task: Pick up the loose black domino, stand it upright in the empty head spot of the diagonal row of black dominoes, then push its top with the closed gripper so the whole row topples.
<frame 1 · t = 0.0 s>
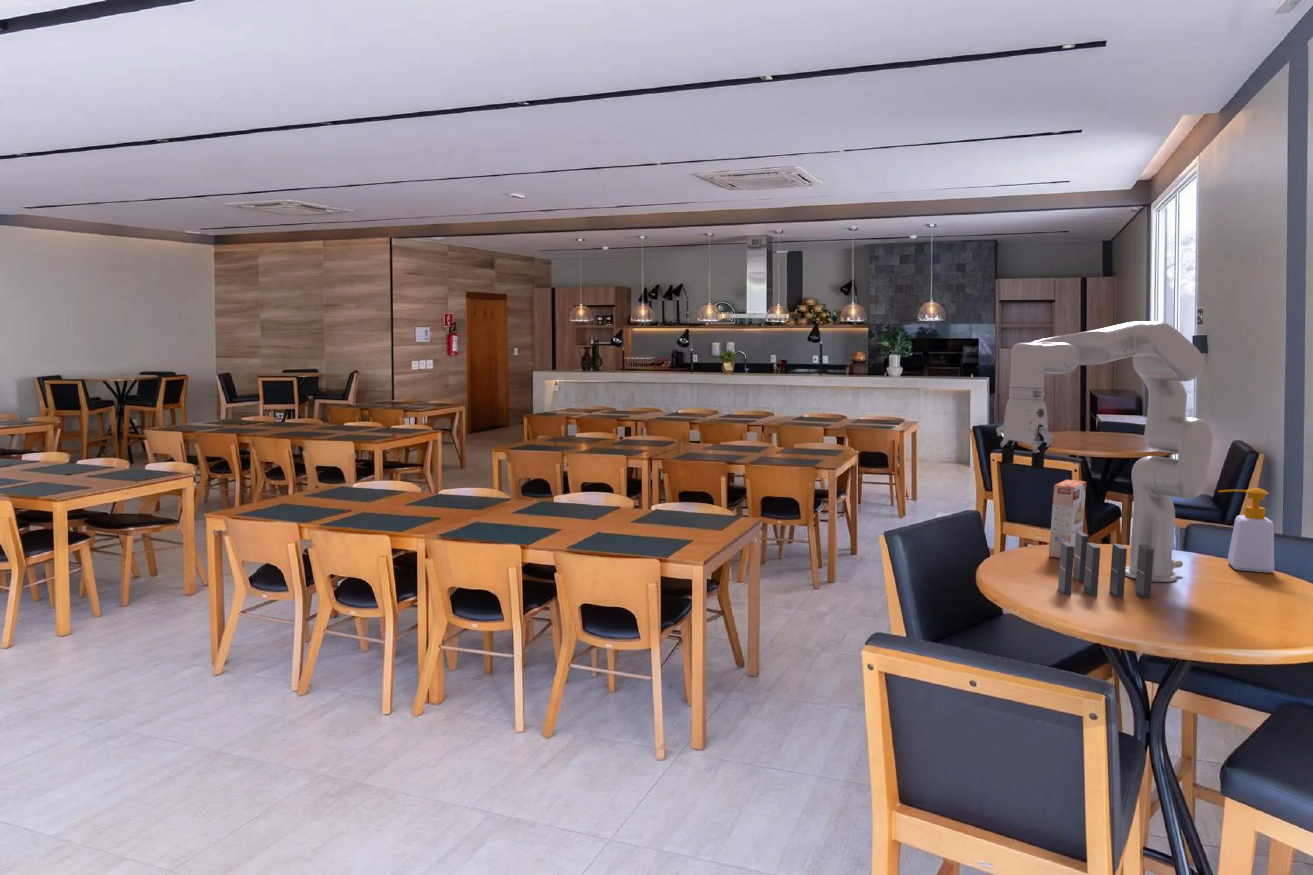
hand: (1022, 466, 220), 31 cm above the table, fingers open, 9 cm apart
domino 3: (1090, 593, 224), on the table
cracker box: (1065, 555, 263), on the table
domino 5: (1142, 595, 222), on the table
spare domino: (1079, 579, 236), on the table
domino 4: (1116, 594, 223), on the table
domino 2: (1064, 591, 224), on the table
soap bottle: (1240, 568, 250), on the table
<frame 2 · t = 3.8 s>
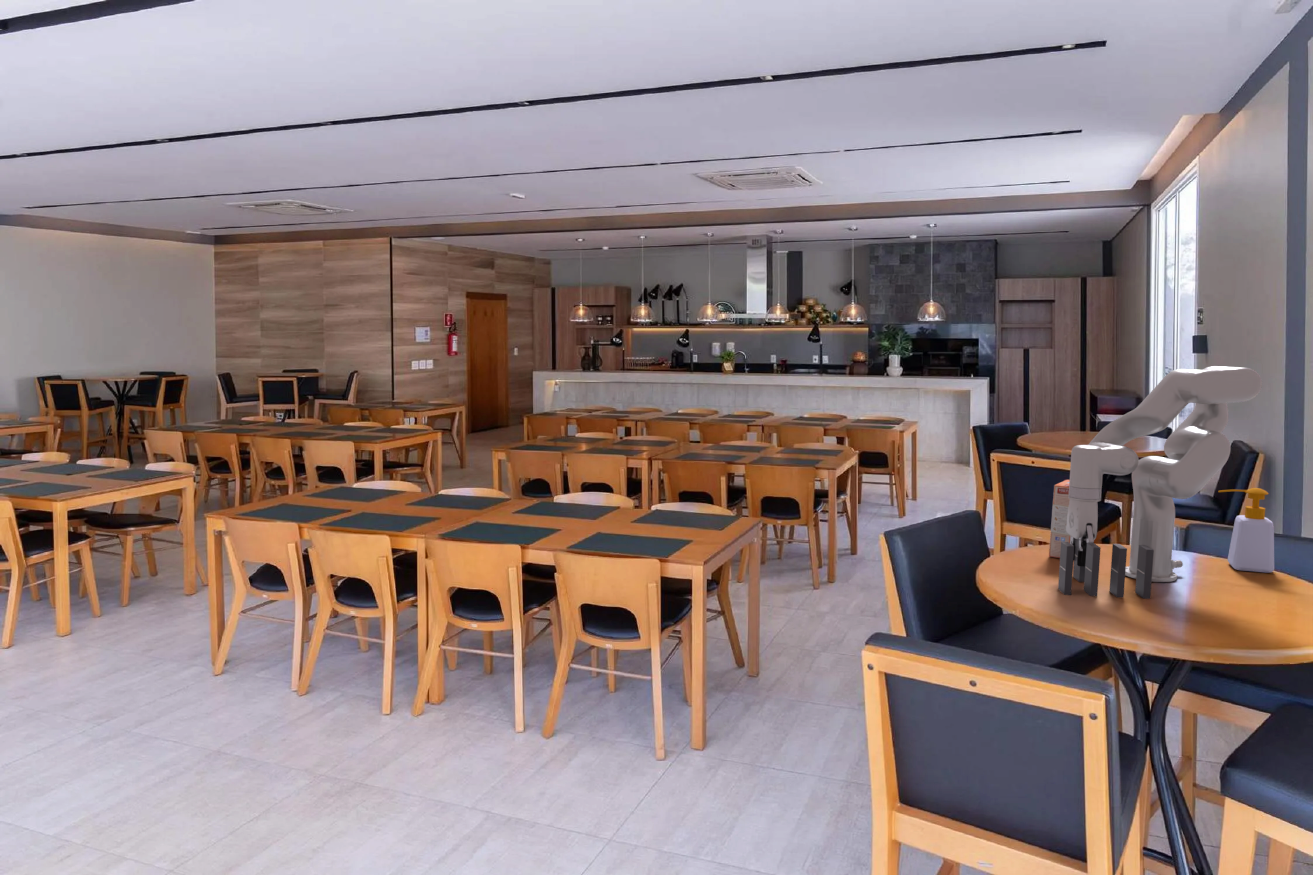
hand: (1080, 562, 236), 4 cm above the table, fingers closed on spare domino, 4 cm apart
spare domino: (1079, 579, 236), on the table, touching gripper
everything else where it was.
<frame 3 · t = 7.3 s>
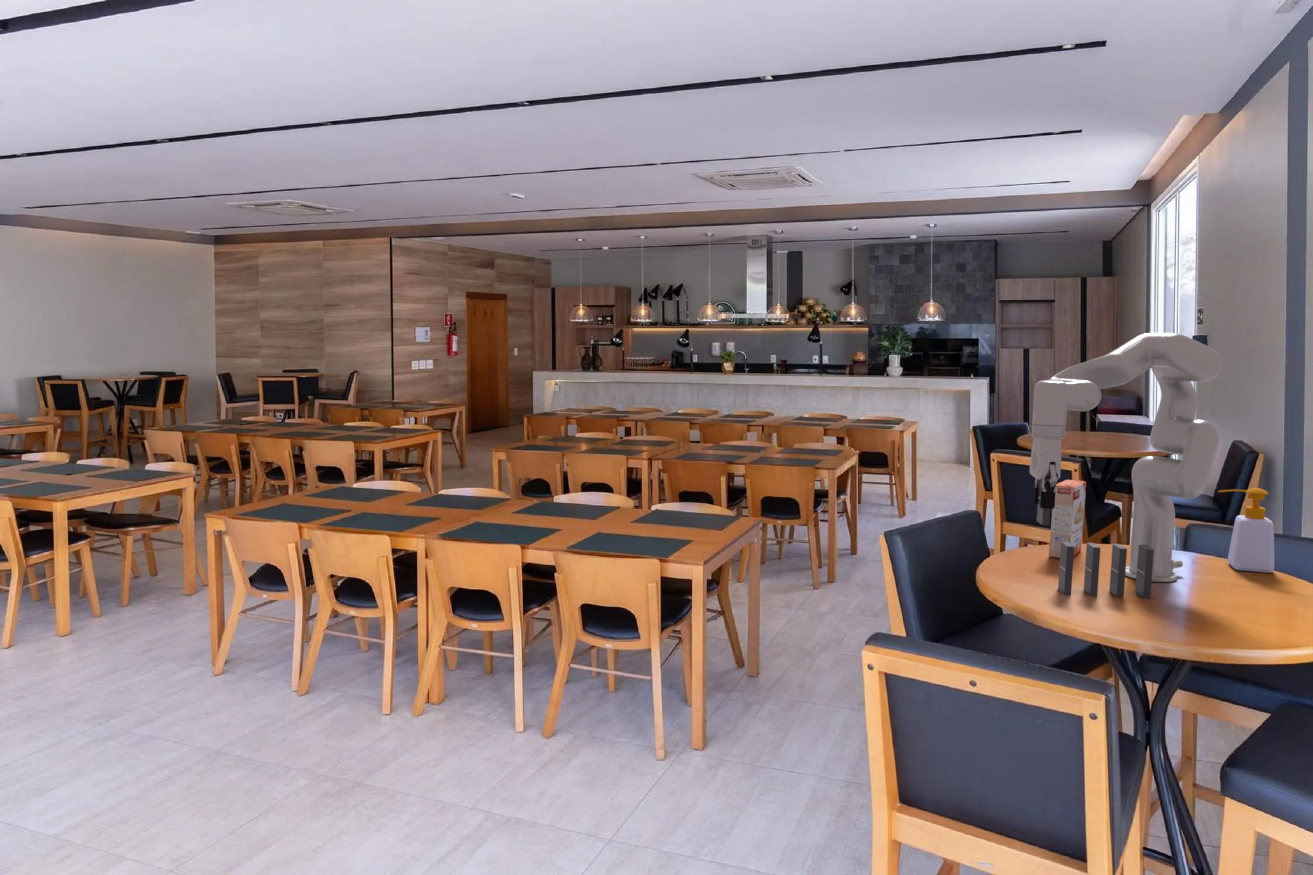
hand: (1043, 505, 223), 21 cm above the table, fingers closed on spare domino, 4 cm apart
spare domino: (1042, 523, 223), point 17 cm above the table, touching gripper
everything else where it was.
when the fingers open (5 cm above the table, at t = 10.7 s): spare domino stays where it is, on the table.
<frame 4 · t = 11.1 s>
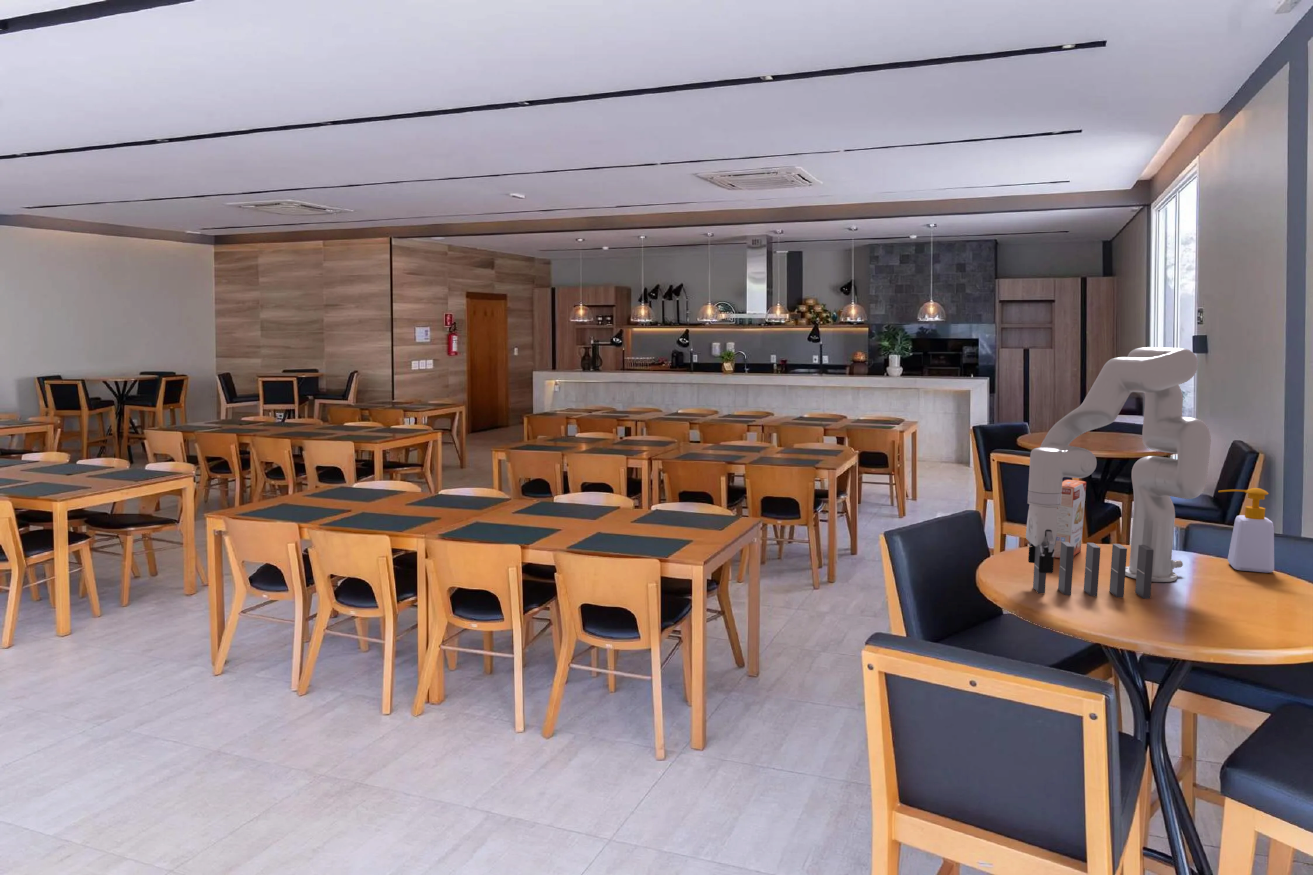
hand: (1040, 567, 225), 6 cm above the table, fingers open, 9 cm apart
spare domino: (1038, 590, 225), on the table
everything else where it was.
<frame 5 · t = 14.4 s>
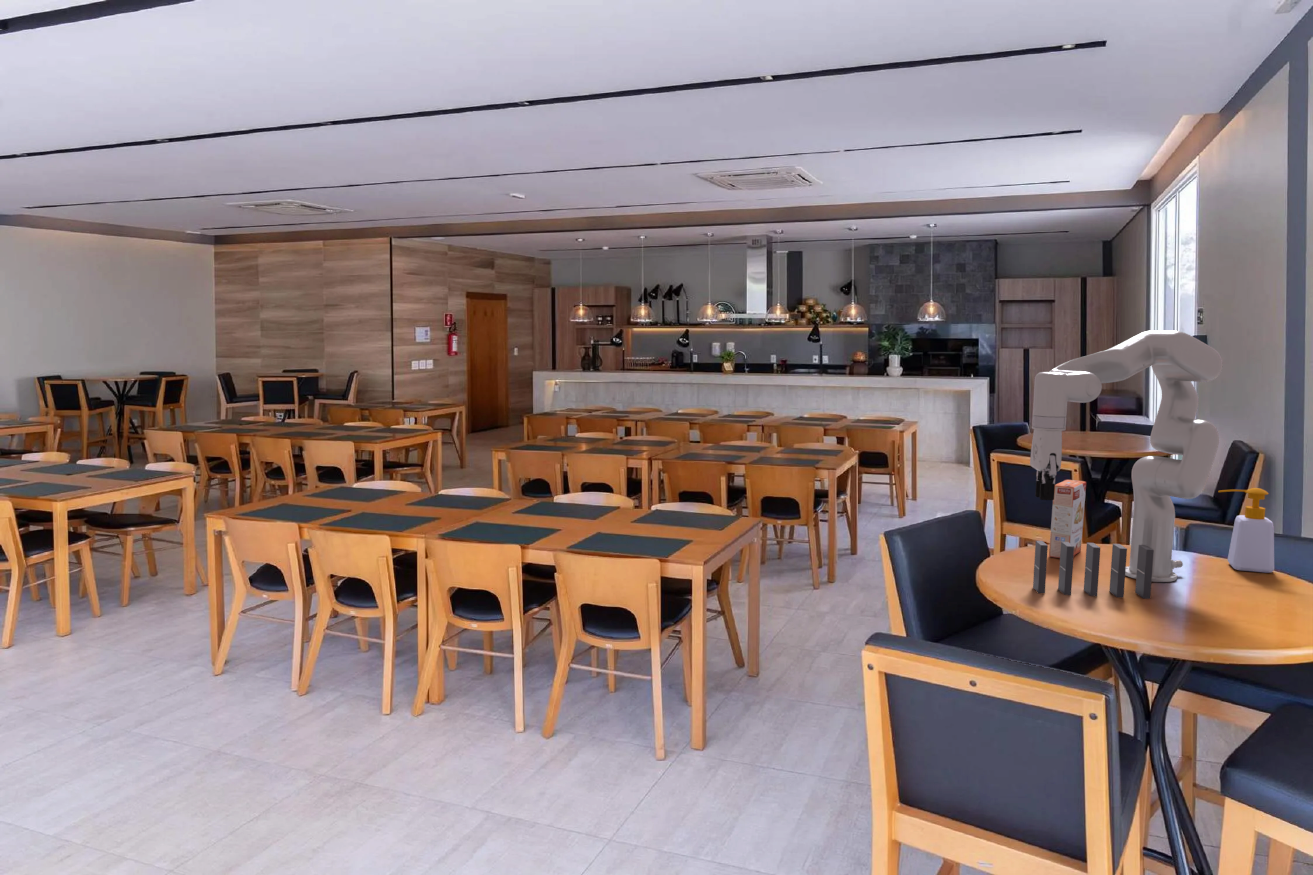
hand: (1044, 497, 223), 23 cm above the table, fingers open, 3 cm apart
nothing on the table moved.
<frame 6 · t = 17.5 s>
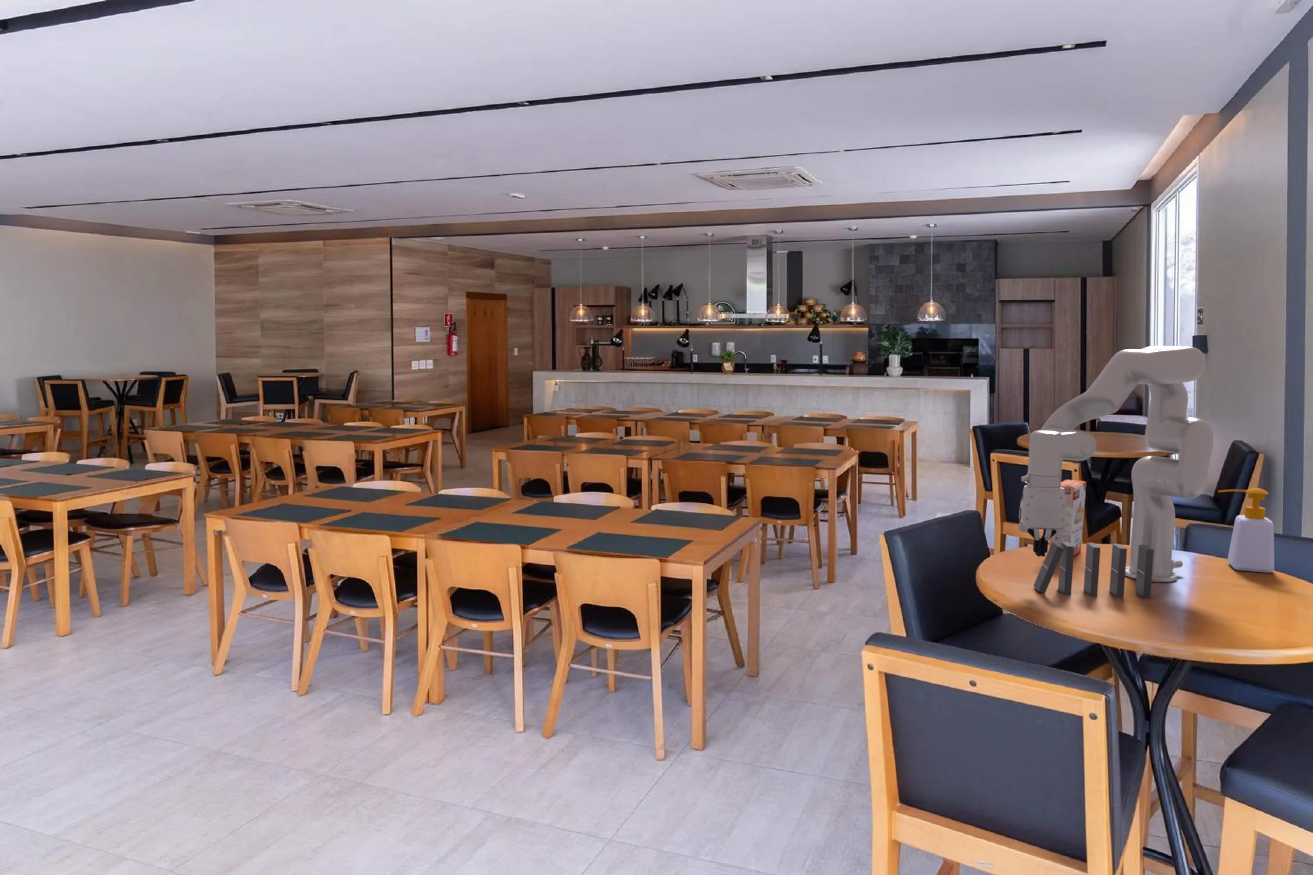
hand: (1039, 555, 224), 9 cm above the table, fingers closed
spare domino: (1039, 589, 225), on the table, tilted 18°
everything else where it was.
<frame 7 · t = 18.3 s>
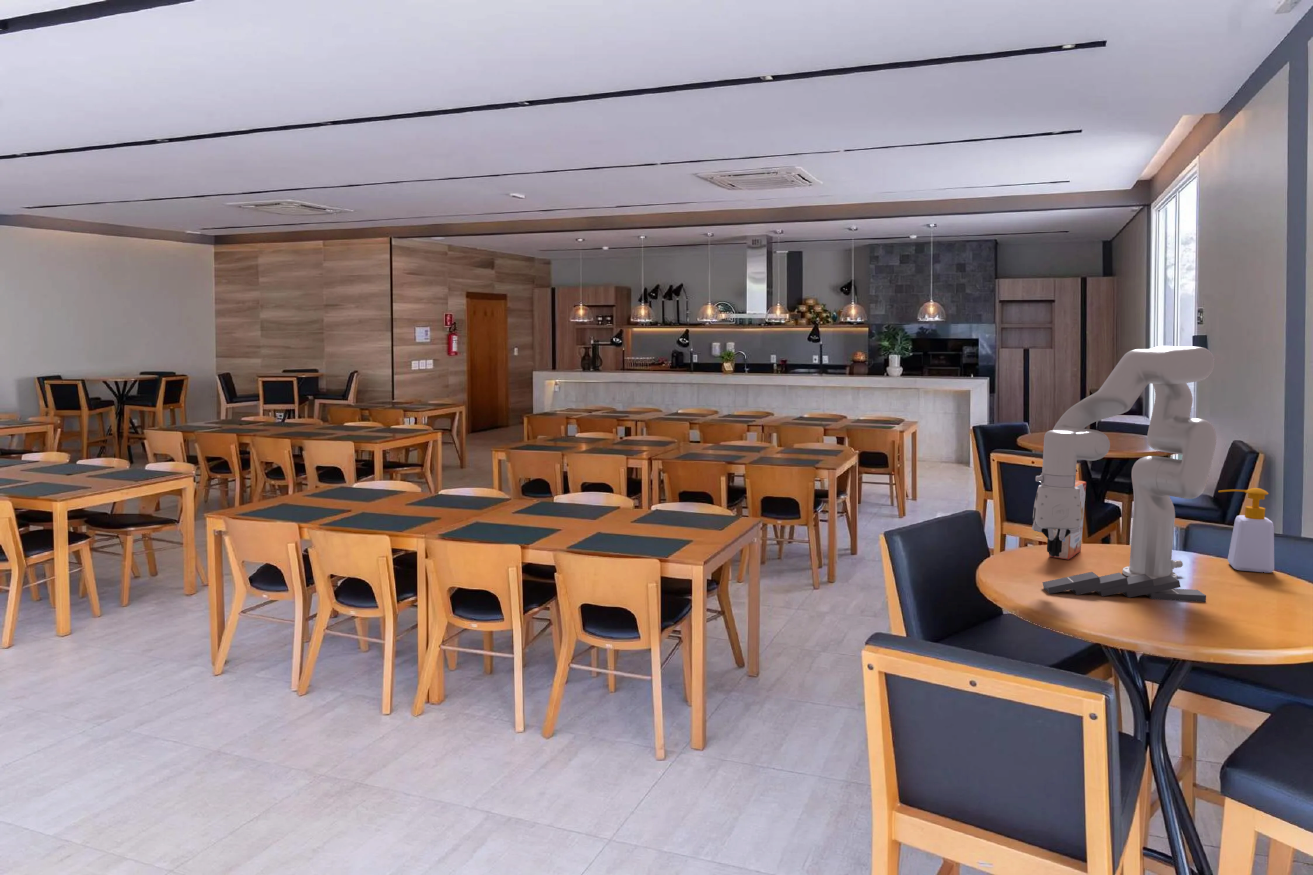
hand: (1053, 555, 224), 9 cm above the table, fingers closed
domino 3: (1097, 590, 223), point 1 cm above the table, tilted 74°, touching domino 2, domino 4
domino 5: (1147, 593, 222), point 1 cm above the table, tilted 90°, touching domino 4
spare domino: (1046, 588, 225), point 1 cm above the table, tilted 74°, touching domino 2
domino 4: (1123, 591, 222), point 1 cm above the table, tilted 74°, touching domino 3, domino 5
domino 2: (1072, 589, 224), point 1 cm above the table, tilted 74°, touching domino 3, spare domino
everything else where it was.
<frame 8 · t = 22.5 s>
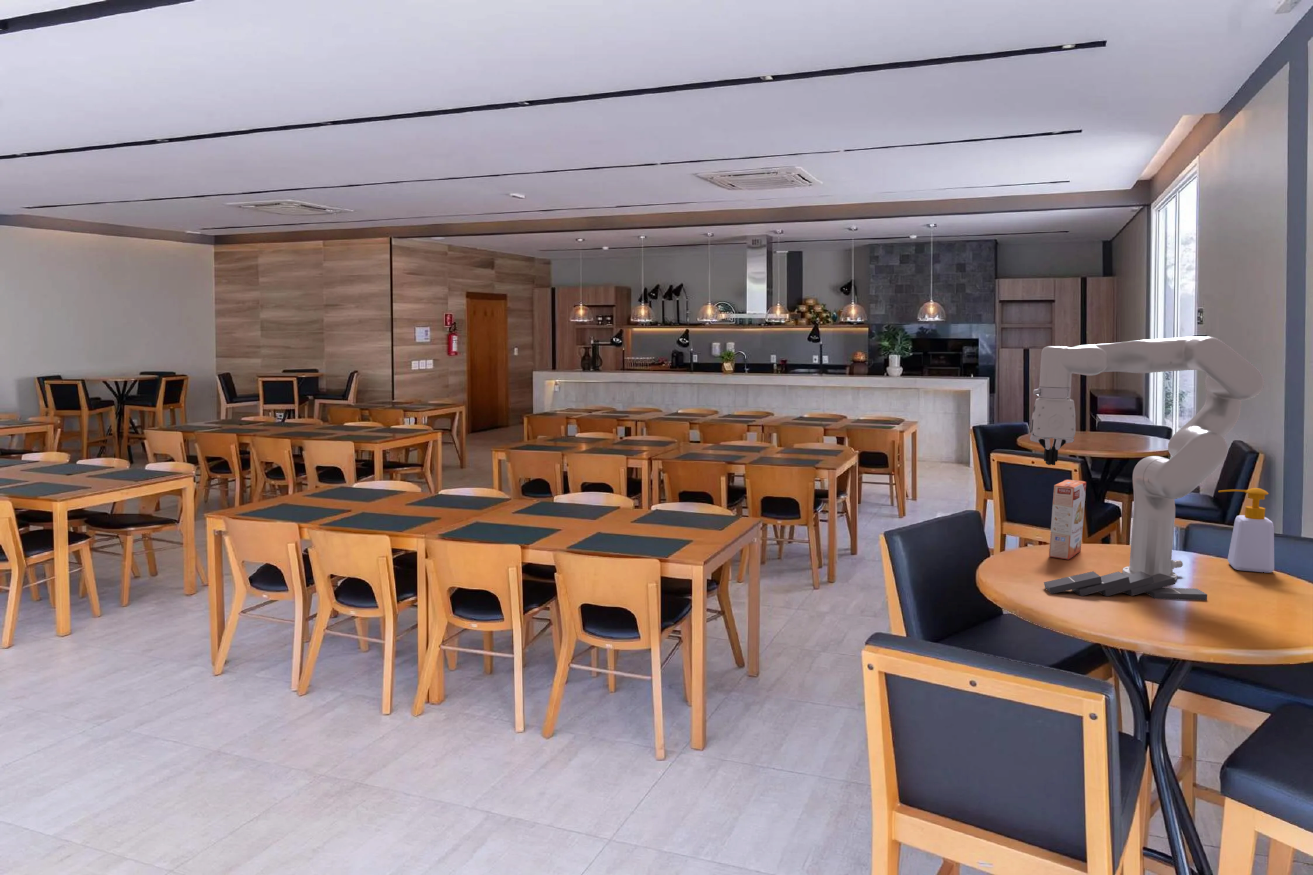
hand: (1050, 464, 239), 29 cm above the table, fingers closed
domino 3: (1100, 590, 223), point 1 cm above the table, tilted 73°, touching domino 2, domino 4
domino 4: (1124, 590, 223), point 1 cm above the table, tilted 78°, touching domino 3, domino 5
at the end: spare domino inside the target area (1.5 cm from its centre), point 0.7 cm above the table; domino 3 tilted 73°; domino 5 tilted 89° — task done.
